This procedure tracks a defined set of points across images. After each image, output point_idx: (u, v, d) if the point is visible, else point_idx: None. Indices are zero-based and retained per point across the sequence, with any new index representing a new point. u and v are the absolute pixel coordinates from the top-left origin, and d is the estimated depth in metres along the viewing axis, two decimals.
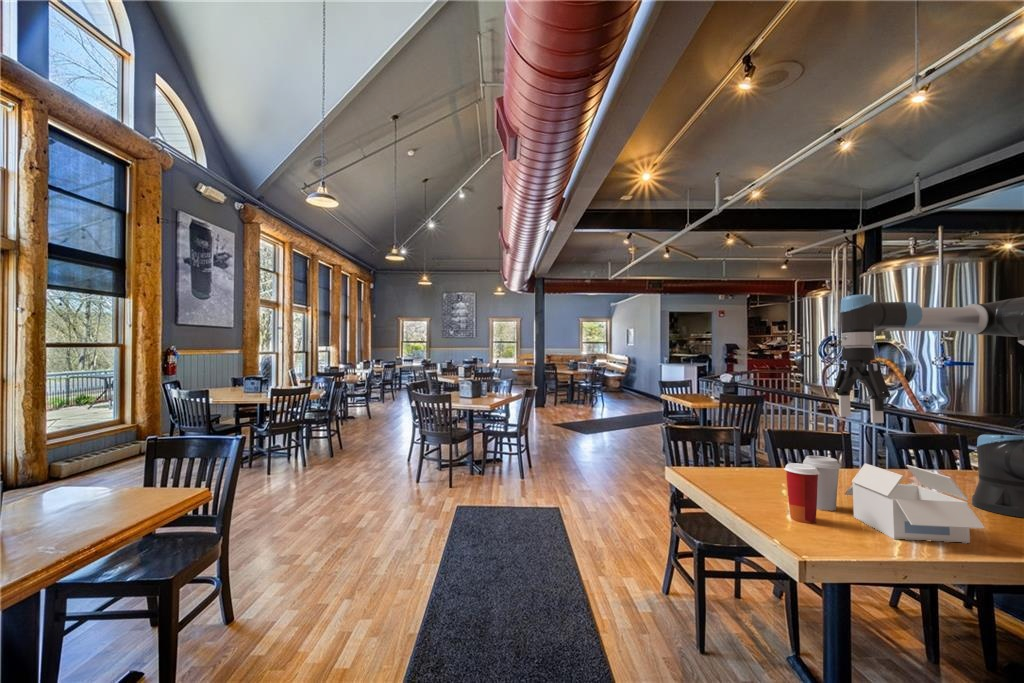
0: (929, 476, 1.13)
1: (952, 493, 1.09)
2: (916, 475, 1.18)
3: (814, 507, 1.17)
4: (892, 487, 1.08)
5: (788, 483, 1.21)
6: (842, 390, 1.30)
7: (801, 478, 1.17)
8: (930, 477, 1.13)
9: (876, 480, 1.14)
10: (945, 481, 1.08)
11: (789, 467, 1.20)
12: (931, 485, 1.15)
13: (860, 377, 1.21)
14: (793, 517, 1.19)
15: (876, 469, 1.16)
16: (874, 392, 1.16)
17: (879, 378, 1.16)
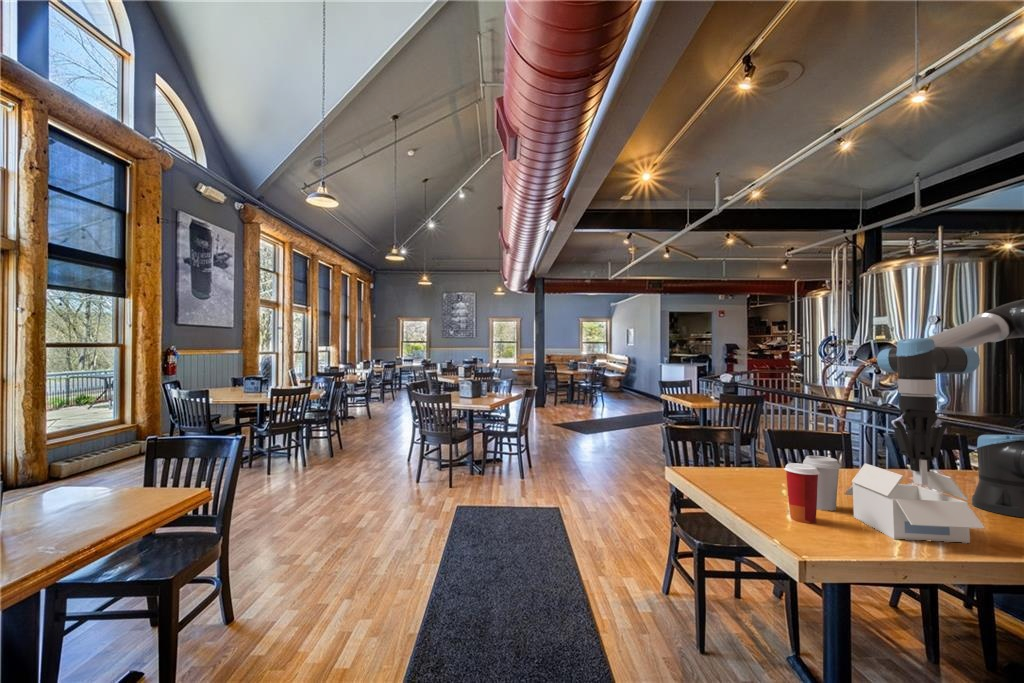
0: (930, 476, 1.13)
1: (952, 493, 1.09)
2: None
3: (814, 507, 1.17)
4: (892, 487, 1.08)
5: (788, 483, 1.21)
6: None
7: (801, 478, 1.17)
8: (930, 477, 1.13)
9: (876, 480, 1.14)
10: (945, 481, 1.08)
11: (789, 467, 1.20)
12: (931, 485, 1.15)
13: None
14: (793, 517, 1.19)
15: (876, 469, 1.16)
16: None
17: (899, 437, 1.14)
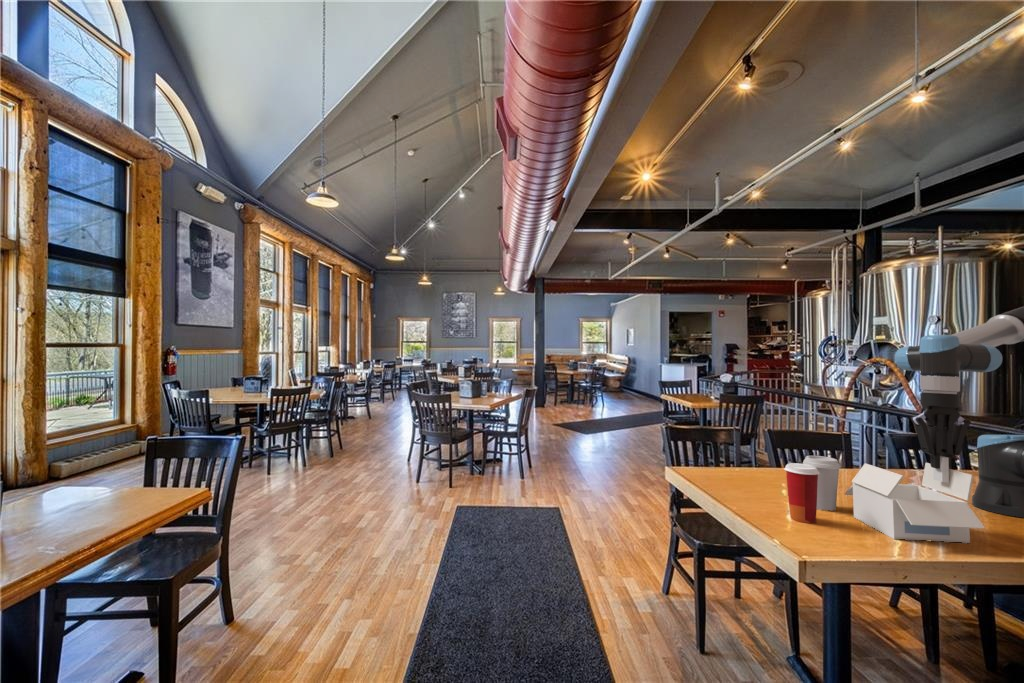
0: None
1: (955, 493, 1.09)
2: (927, 473, 1.18)
3: (814, 507, 1.17)
4: (892, 487, 1.08)
5: (788, 483, 1.21)
6: None
7: (801, 478, 1.17)
8: None
9: (876, 480, 1.14)
10: (961, 479, 1.08)
11: (789, 467, 1.20)
12: (935, 485, 1.15)
13: None
14: (793, 517, 1.19)
15: (876, 469, 1.16)
16: None
17: (920, 434, 1.13)
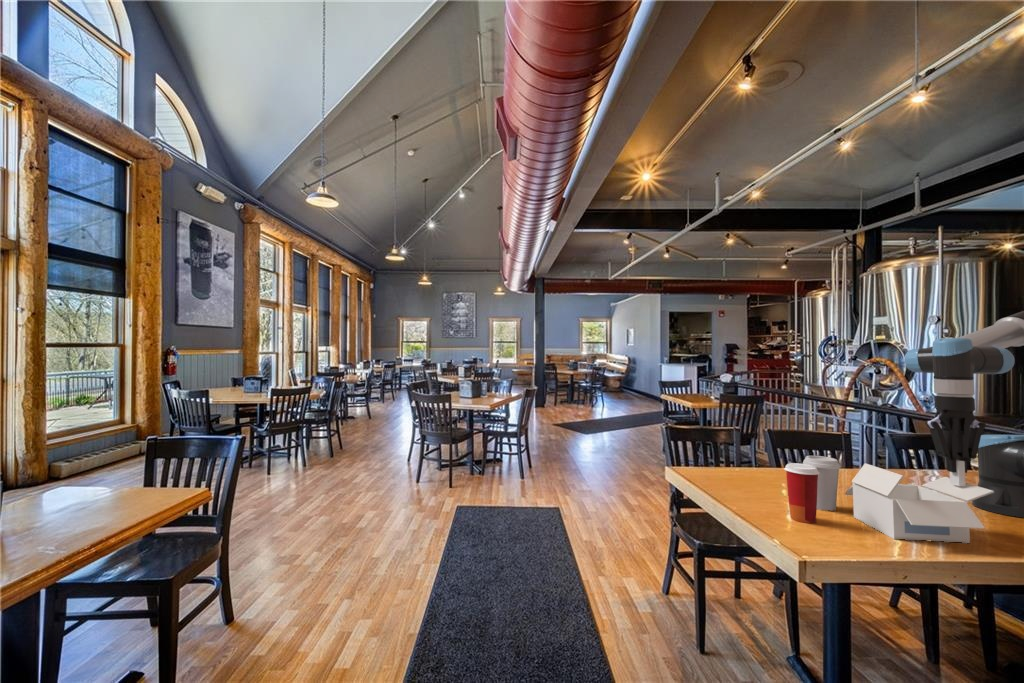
0: None
1: (957, 495, 1.09)
2: (938, 481, 1.17)
3: (814, 507, 1.17)
4: (892, 487, 1.08)
5: (788, 483, 1.21)
6: None
7: (801, 478, 1.17)
8: None
9: (876, 480, 1.14)
10: (976, 490, 1.07)
11: (789, 467, 1.20)
12: (938, 487, 1.15)
13: None
14: (793, 517, 1.19)
15: (876, 469, 1.16)
16: None
17: (936, 438, 1.13)
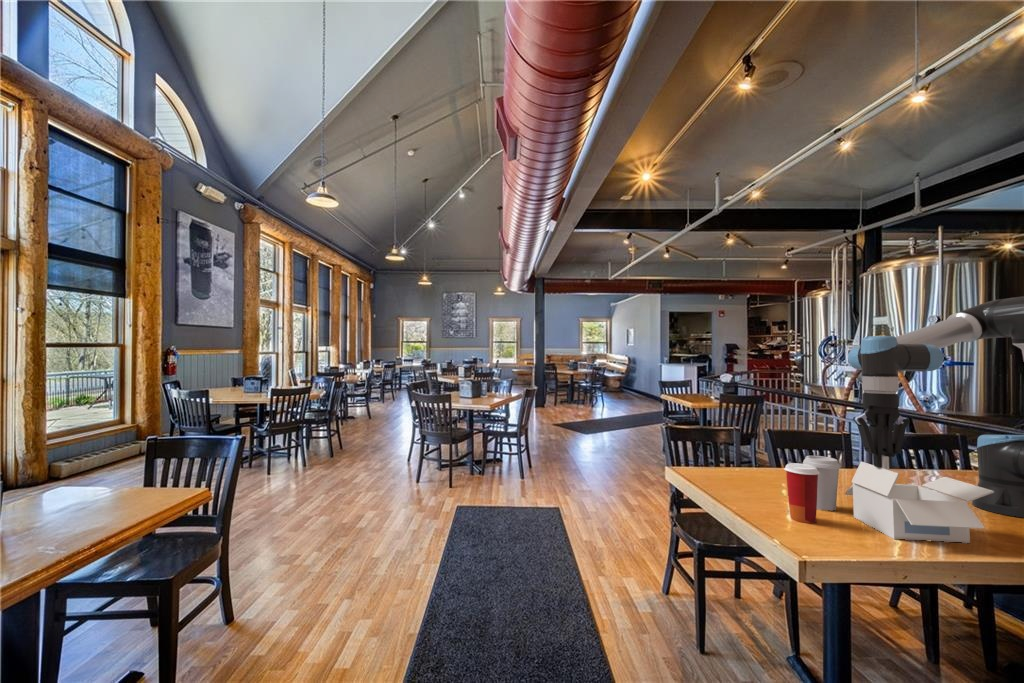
0: (960, 485, 1.12)
1: (957, 495, 1.09)
2: (938, 481, 1.17)
3: (814, 507, 1.17)
4: (890, 486, 1.08)
5: (788, 483, 1.21)
6: None
7: (801, 478, 1.17)
8: (958, 485, 1.12)
9: (874, 479, 1.14)
10: (976, 490, 1.07)
11: (789, 467, 1.20)
12: (938, 487, 1.15)
13: None
14: (793, 517, 1.19)
15: (872, 467, 1.16)
16: None
17: (862, 434, 1.15)
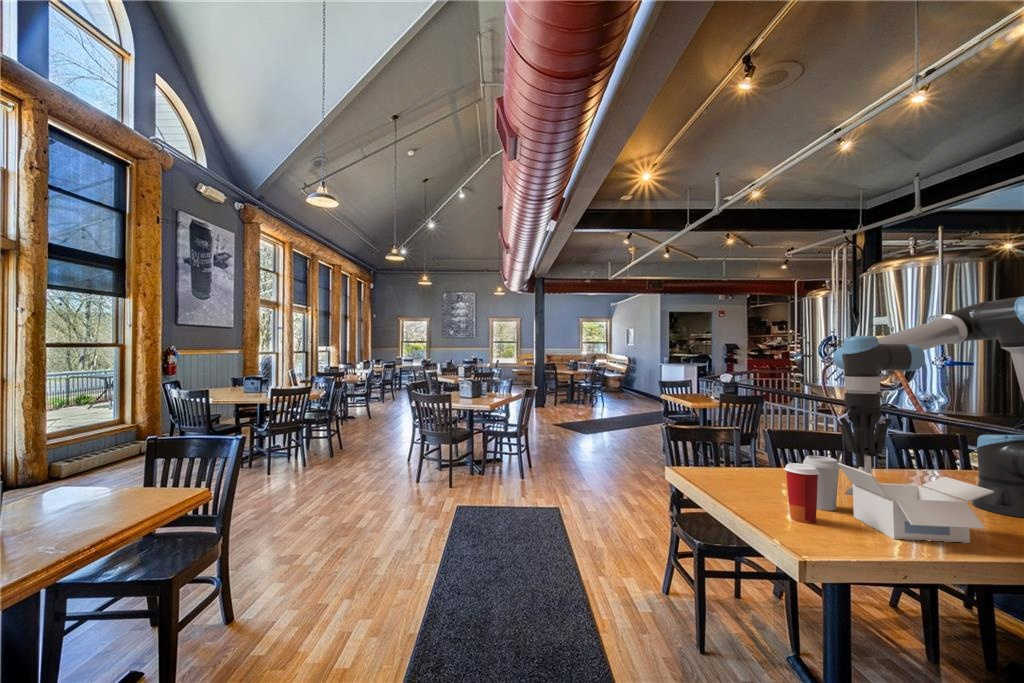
0: (960, 485, 1.12)
1: (957, 495, 1.09)
2: (938, 481, 1.17)
3: (814, 507, 1.17)
4: (880, 488, 1.08)
5: (788, 483, 1.21)
6: (864, 445, 1.16)
7: (801, 478, 1.17)
8: (958, 485, 1.12)
9: (863, 481, 1.14)
10: (976, 490, 1.07)
11: (789, 467, 1.20)
12: (938, 487, 1.15)
13: None
14: (793, 517, 1.19)
15: (850, 469, 1.17)
16: None
17: (845, 433, 1.16)
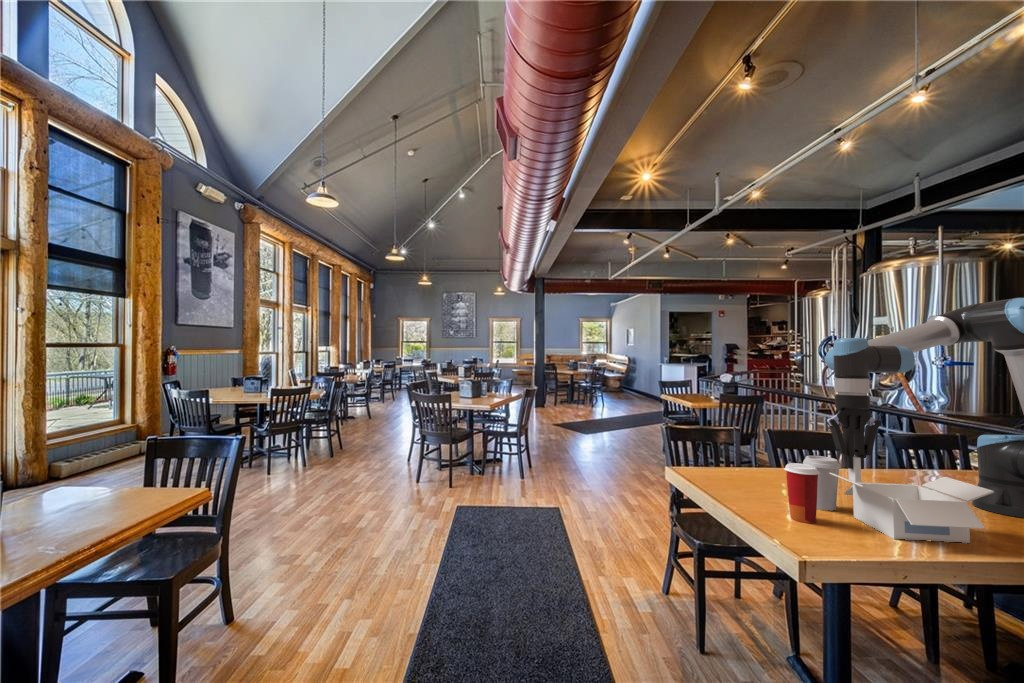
0: (960, 485, 1.12)
1: (957, 495, 1.09)
2: (938, 481, 1.17)
3: (814, 507, 1.17)
4: (876, 493, 1.08)
5: (788, 483, 1.21)
6: (854, 447, 1.16)
7: (801, 478, 1.17)
8: (958, 485, 1.12)
9: None
10: (976, 490, 1.07)
11: (789, 467, 1.20)
12: (938, 487, 1.15)
13: None
14: (793, 517, 1.19)
15: (842, 478, 1.17)
16: None
17: (834, 435, 1.16)
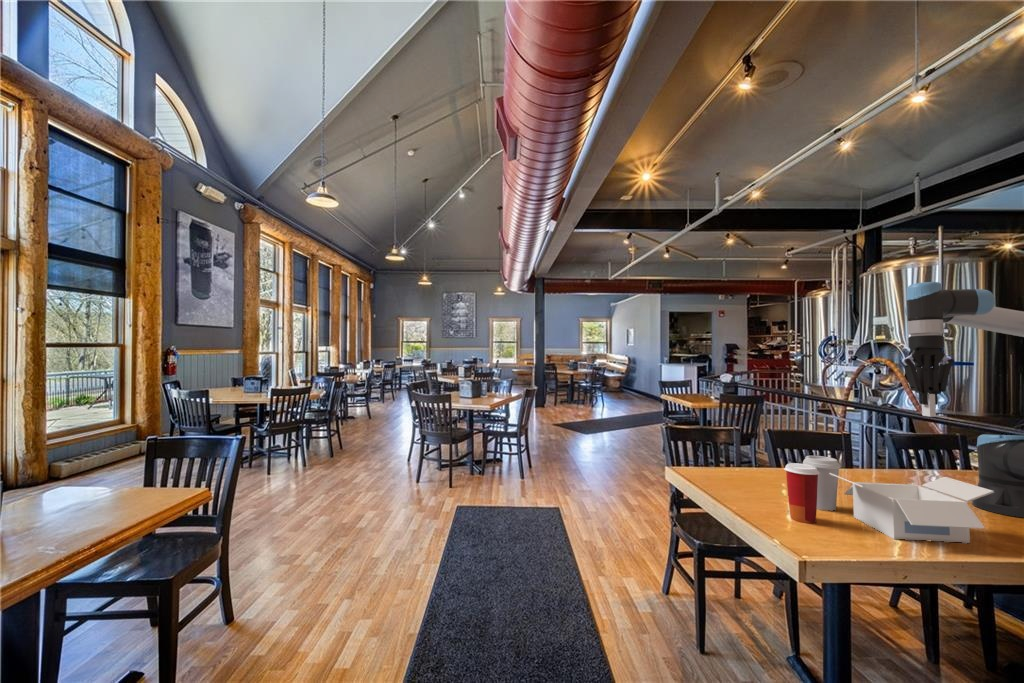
0: (960, 485, 1.12)
1: (957, 495, 1.09)
2: (938, 481, 1.17)
3: (814, 507, 1.17)
4: (876, 493, 1.08)
5: (788, 483, 1.21)
6: None
7: (801, 478, 1.17)
8: (958, 485, 1.12)
9: None
10: (976, 490, 1.07)
11: (789, 467, 1.20)
12: (938, 487, 1.15)
13: None
14: (793, 517, 1.19)
15: None
16: None
17: (909, 374, 1.24)
